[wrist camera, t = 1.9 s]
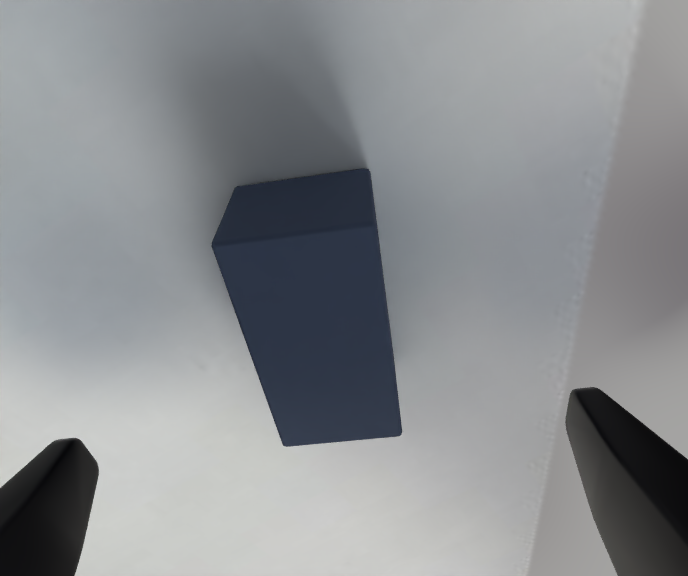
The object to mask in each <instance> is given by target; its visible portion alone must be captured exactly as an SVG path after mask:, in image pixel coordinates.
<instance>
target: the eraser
mask: <svg viewBox="0 0 688 576" xmlns="http://www.w3.org/2000/svg"><path fill="white" fill-rule="evenodd" d="M212 249H213V251H214V254H215V257H216V260H217V263H218V265H219V268H220V271H221V274H222V277H223V279H224V282H225V285H226V288H227V290H228V293H229V296H230V299H231V302H232V304H233V307H234V310H235V313H236V316H237V318H238V321H239V324H240V327H241V330H242V332H243V335H244V338H245V341H246V343H247V346H248V349H249V352H250V355H251V357H252V360H253V363H254V366H255V369H256V371H257V374H258V377H259V380H260V382H261V385H262V388H263V391H264V394H265V396H266V399H267V402H268V405H269V408H270V410H271V413H272V416H273V419H274V422H275V424H276V427H277V430H278V433H279V435H280V438H281V441H282V444H283V446H286V447H288V446H299V445H309V444H320V443H331V442H342V441H353V440H363V439H374V438H385V437H396V436H400V435H401V433H402V426H401V417H400V408H399V399H398V391H397V382H396V373H395V364H394V356H393V348H392V340H391V332H390V324H389V316H388V308H387V300H386V292H385V284H384V277H383V269H382V261H381V253H380V245H379V237H378V229H377V221H376V213H375V205H374V197H373V189H372V181H371V173H370V171H369V169H366V168H364V169H357V170H350V171H343V172H336V173H329V174H322V175H315V176H308V177H301V178H294V179H287V180H279V181H272V182H265V183H258V184H251V185H244V186H237V187H236V188H235V189H234V191H233V193H232V196H231V198H230V201H229V203H228V205H227V208H226V210H225V212H224V215H223V217H222V220H221V222H220V224H219V227H218V229H217V232H216V234H215V236H214V239H213V241H212Z"/></svg>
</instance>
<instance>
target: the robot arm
mask: <svg viewBox="0 0 688 576" xmlns="http://www.w3.org/2000/svg"><path fill="white" fill-rule="evenodd" d="M566 430H567V434H568V437H569V441H570V444H571V447H572V450H573V454H574V456H575V460H576V464H577V467H578V470H579V473H580V476H581V480H582V483H583V486H584V490H585V493H586V496H587V499H588V503H589V506H590V509H591V512H592V515H593V518H594V520H595V523H596V525H597V528H598V530H599V533H600V535H601V538H602V540H603V542H604V544H605V547H606V549H607V552H608V554H609V556H610V558H611V560H612V563H613V565H614V568H615V570H616V572H617V575H618V576H688V459H687V458H685V457H684V456H683V455H682V454H680V453H679V452H678V451H677V450H675V449H674V448H673V447H671V446H670V445H669V444H668V443H666V442H665V441H664V440H663V439H661V438H660V437H659V436H658V435H657V434H655V433H654V432H653V431H651V430H650V429H649V428H648V427H646V426H645V425H644V424H643V423H641V422H640V421H639V420H638V419H637V418H635V417H634V416H633V415H632V414H630V413H629V412H628V411H626V410H625V409H624V408H622V407H621V406H620V405H619V404H618V403H616V402H615V401H614V400H613V399H611V398H610V397H609V396H608V395H606V394H605V393H604V392H602V391H601V390H600V389H598V388H594V387H590V388H580V389H574V390H572V392H571V393H570V398H569V403H568V408H567V414H566ZM98 475H99V468H98V464H97V462H96V460H95V459H94V457H93V456H92V455H91V453H90V452H89V451H88V449H87V448H86V447H85V445H84V444H83V443H82V441H81V440H79V439H77V438H68V439H59V440H56V441H54V442H52V443H51V444H49V445H48V446H47V447H46V448H45V449H44V450H43V451H42V452H40V453H39V454H38V455H37V456H36V457H35V458H34V459H33V460H31V461H30V462H29V463H28V464H27V465H26V466H25V467H24V468H22V469H21V470H20V471H19V472H18V473H17V474H16V475H15V476H14V477H12V478H11V479H10V480H9V481H8V482H7V483H6V484H5V485H3V486H2V487H1V488H0V576H74V575H75V572H76V569H77V566H78V562H79V559H80V556H81V552H82V548H83V544H84V539H85V535H86V530H87V526H88V521H89V517H90V512H91V508H92V503H93V498H94V494H95V489H96V485H97V480H98Z"/></svg>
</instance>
